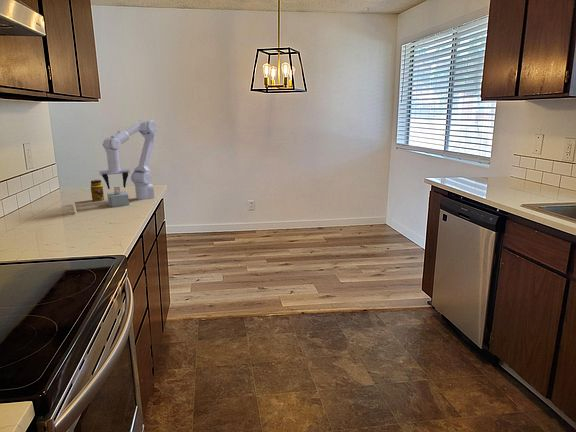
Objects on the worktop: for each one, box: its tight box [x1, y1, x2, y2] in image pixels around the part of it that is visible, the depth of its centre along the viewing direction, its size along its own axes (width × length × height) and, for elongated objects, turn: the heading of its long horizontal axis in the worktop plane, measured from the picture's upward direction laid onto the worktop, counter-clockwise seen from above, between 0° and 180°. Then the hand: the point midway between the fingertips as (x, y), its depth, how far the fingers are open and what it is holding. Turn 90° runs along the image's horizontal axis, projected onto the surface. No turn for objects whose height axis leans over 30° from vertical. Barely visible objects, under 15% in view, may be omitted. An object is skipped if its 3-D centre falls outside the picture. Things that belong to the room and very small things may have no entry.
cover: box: [106, 186, 130, 208], centre depth 227 cm, size 9×10×9 cm
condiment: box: [90, 179, 105, 202], centre depth 239 cm, size 7×8×12 cm
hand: (116, 188), depth 226 cm, fingers open, 7 cm apart
